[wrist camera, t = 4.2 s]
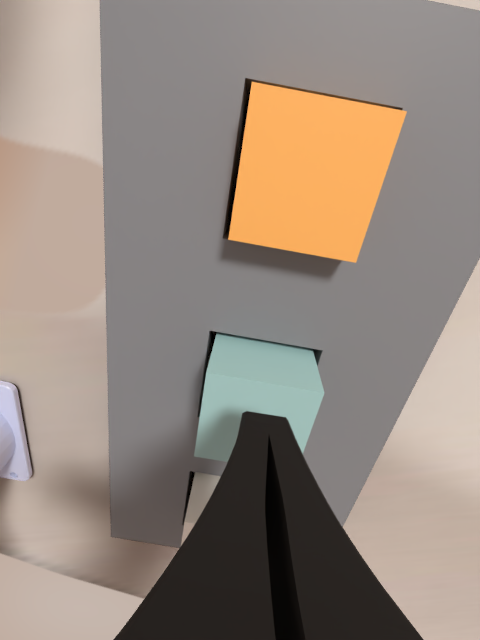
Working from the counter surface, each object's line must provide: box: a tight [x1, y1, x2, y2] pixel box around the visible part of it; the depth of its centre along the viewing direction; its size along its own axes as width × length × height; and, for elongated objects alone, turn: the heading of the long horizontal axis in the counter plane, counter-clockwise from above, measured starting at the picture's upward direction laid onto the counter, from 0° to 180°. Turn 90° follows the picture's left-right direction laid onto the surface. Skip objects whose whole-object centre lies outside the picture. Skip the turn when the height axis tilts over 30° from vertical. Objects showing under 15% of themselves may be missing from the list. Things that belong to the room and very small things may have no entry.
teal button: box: [194, 332, 324, 462], centre depth 14 cm, size 4×4×3 cm
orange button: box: [228, 82, 407, 263], centre depth 11 cm, size 4×4×3 cm
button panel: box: [100, 0, 480, 548], centre depth 16 cm, size 14×28×2 cm, turn 171°
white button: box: [181, 472, 221, 546], centre depth 18 cm, size 4×4×3 cm
